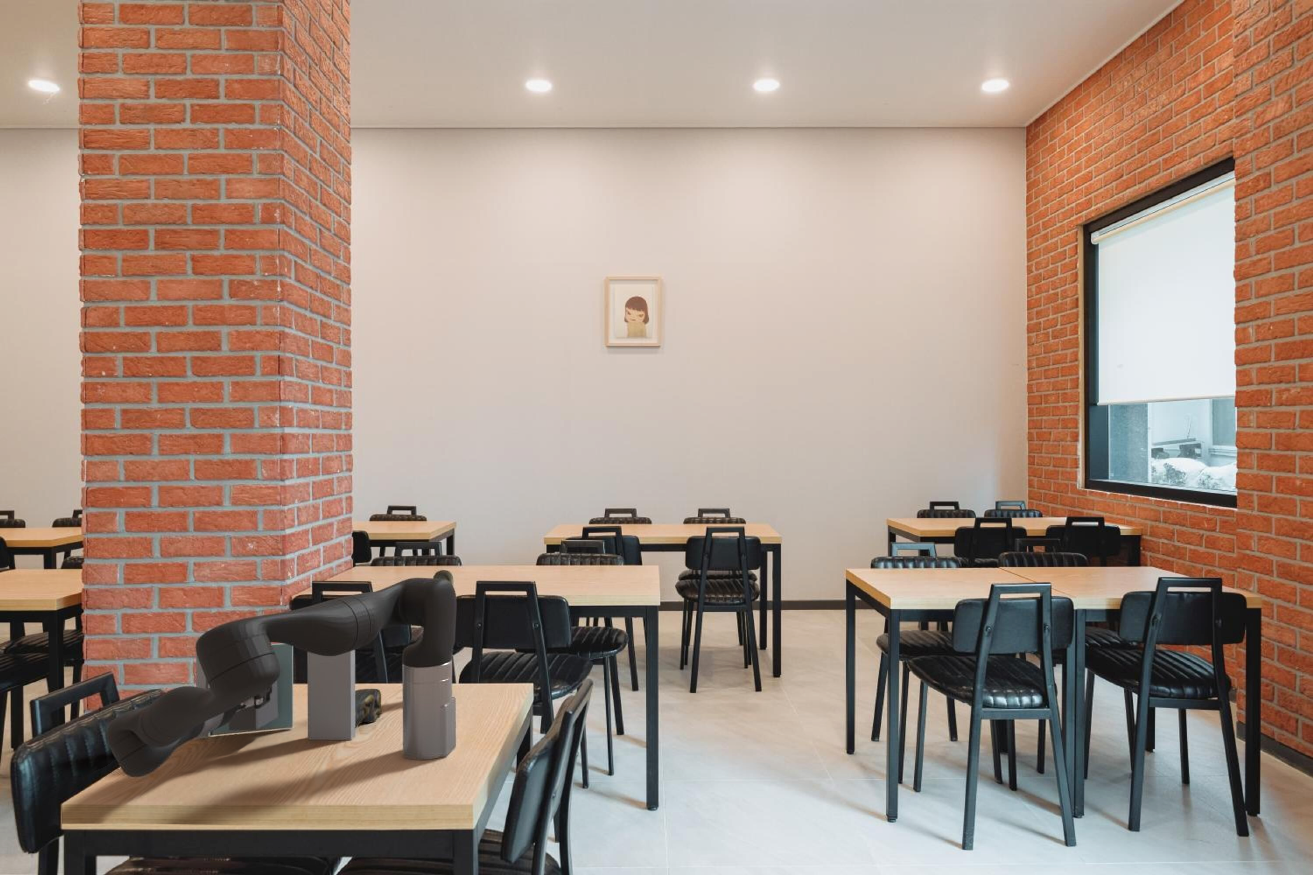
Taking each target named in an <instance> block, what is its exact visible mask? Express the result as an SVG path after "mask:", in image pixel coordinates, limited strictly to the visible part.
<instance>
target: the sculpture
mask: <svg viewBox="0 0 1313 875" xmlns="http://www.w3.org/2000/svg"><path fill="white" fill-rule="evenodd" d="M382 713H383V710H382V693H381V691H380V689H378V688H363V689H362V688H361V689H360V688H359V689H355V730H356V729H357V728H358V726H359V725H361V723H360V722H368V723H373V722H376V721H377V720H378V718H379V717H380V716H381V715H382Z"/></svg>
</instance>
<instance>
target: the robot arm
mask: <svg viewBox="0 0 1313 875" xmlns="http://www.w3.org/2000/svg"><path fill="white" fill-rule="evenodd" d="M457 602H458V601H457V594H456V590H455V587H454V584H453V585H452V584H451V582H449V581H448V580H445V579H434V578H433V577H432V578H431V577H427V578H426V577H411V578H407V579H404V580H401V581H399V582H396V583H394V584H391V585H389V586H387V587H384V588H382V589H378V590H375V591H370V592H369V591H368V592H362V593H356V594H351V595H346V596H342V597H337V598H334V599H330V600H326V601H322V602H320V603H316V604H313V605H309V606H306V607H301V608H297V609H292V610H288V611H281V612H277V613H270V614H263V615H257V616H256V615H255V616H251V617H245V618H239V619H235V620H233V621H228V622H226V623H222V624H219V625H217V626H214V627H212V628H213V629H211V628H209V629H210V630H209V631H207V632H206V631H205V632H204V633H203V634H201V636H200V637H199V638H198V639H197V640H198V641H197V642H196V641H195V653H197V657H198V660H199V662H200V665H201V667H202V670H203V672H204V675H205V677H206V679H207V682H208V684H209V687H210V688H207V689H204V688H200V687H196V686H194V685H193V686H192V685H188V686H186V685H185V686H177V687H174V688H171V689H170V690H168V691H166V692H164V693H163V694H161V696H159V697H158V698H157V699H156V700H154V701H152V703H150V704H149V705H148V706H144V707H139V708H134V709H131V710H129V711H125V712H124V713H121V714H120V715H118V716H116V717H115V718H114V719H112V720H111V721H110V722H109V724H108V725H107V727H106V729H105V731H104V738H105V742H106V744H107V746H108V747H109V749H110V751H111V752H112V754H113V757H114V758H115V760H116V762H117V763H118V765H119V767H120V769H121V770H122V772H123V773H124V774H126V775H127V776H128V777H131V778H141V777H145V776H147V775H150V774H152V773H153V772H155V771H156V770H158V769H159V768H160V767H161V766H162V765H164V764H165V762H166V761H168V760H169V758H170V757H171V756H172V754H173V753H174V752H175V751H176V750H177V749H178V748H179V747H181V746H182V745H184V744H186V743H188V742H190V741H192V740H194V739H196V738H198V737H201V736H203V735H205V734H207V733H209V732H211V731H213V730H215V729H217V728H219V727H221V726H223V725H225V724H227V723H228V722H229V721H230V720H231V719H232V718H233V716H234V715H235V713H236V712H238V711H240V710H241V709H244V708H247V707H251V706H253V705H254V709H259V708H261V707H262V706H264V705H265V704H267V703H268V702H269V701H270V694H271V693H272V686H271V685H273V684H274V683H275V682H276V680H277V679H278V678H279V676H280V673H281V669H280V665H279V662H278V659H277V657H276V654H275V652H274V650H273V647H272V645H271V644H272V643H277V644H278V643H284V644H287V645H291V646H293V648H296V649H299V650H301V651H305V652H310V653H313V654H317V655H321V656H337V655H341V654H344V653H347V652H350V651H353V650H355V651H356V650H358V649H360V648H363V647H366V646H367V645H369V644H370V643H371V642H373V641H374V640H375V639H376V638H377V636H378V635H379V633H380V632H381V630H384V629H388V628H392V627H399V626H410V627H411V626H412V627H423V629H422V638H421V640H420V641H417V642H416V643H412V644H409V645H407V646H406V647H404V648H403V650H402V655H401V656H402V665H401V666H402V755H403V756H404V758H407V759H411V760H418V761H419V760H431V759H437V758H445V757H447V756H448V755H450V753H451V752H452V751H453V750H454V748H456V745H457V730H456V729H457V722H456V720H457V717H456V716H457V713H456V712H457V708H456V706H457V705H456V704H457V703H456V697H455V696H453V649H454V646H455V642H456V623H457V607H458V606H457V605H458V604H457Z"/></svg>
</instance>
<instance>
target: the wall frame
mask: <svg viewBox="0 0 1313 875" xmlns="http://www.w3.org/2000/svg"><path fill="white" fill-rule="evenodd" d="M213 628H214V627H212V628H209V629H205V632H207V631H209V630H210V629H213ZM197 641H198V639H196V641H195V643H196V642H197ZM306 652H307V651H306ZM195 653H196V652H195ZM306 654H307V656H306V657H307V740H308V741H309V740H311V741H315V740H316V741H317V740H320V741H321V740H324V741H325V740H326V741H335V740H337V741H352V740H353V739H354V738H356V729H355V691H356V650H353V651H350V652H347V653H344V654H341V655H337V656H321V655H317V654H313V653H310V652H307V653H306ZM195 655H196V656H195V666H196V670H195V671H196V672H195V676H196V678H195V680H196V682H195V683H196V685H195V687H200V688H204V689H207V688H210V687H209V684H208V682H207V679H206V677H205V675H204V672H203V670H202V667H201V665H200V662H199V660H198V657H197V653H196V654H195ZM211 736H212V735H210V732H209V733H207V734H205V735H203V736H201V737H198V738H195V739H196V740H197V739H203V738H206V739H208V738H210V737H211ZM207 737H208V738H207Z"/></svg>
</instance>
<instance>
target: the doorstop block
mask: <svg viewBox="0 0 1313 875" xmlns="http://www.w3.org/2000/svg"><path fill="white" fill-rule="evenodd" d="M271 686H272V693H271V694H270V701H269V702H268V703H267V704H265V705H264V706H262V707H261V708H259V709H254V705H253V706H251V707H247V708H244V709H241V710H240V711H238V712H236V713H235V715H234V716H233V718H232V719H231V720H230V721H229V730H257V729H258V728H260V727H262V726H263V725H265V724H267V723H269V722H270V721H272V720H274V719H275V718H277V717H278V698H277V680H276V682H275V683H274V684H273V685H271Z"/></svg>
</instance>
